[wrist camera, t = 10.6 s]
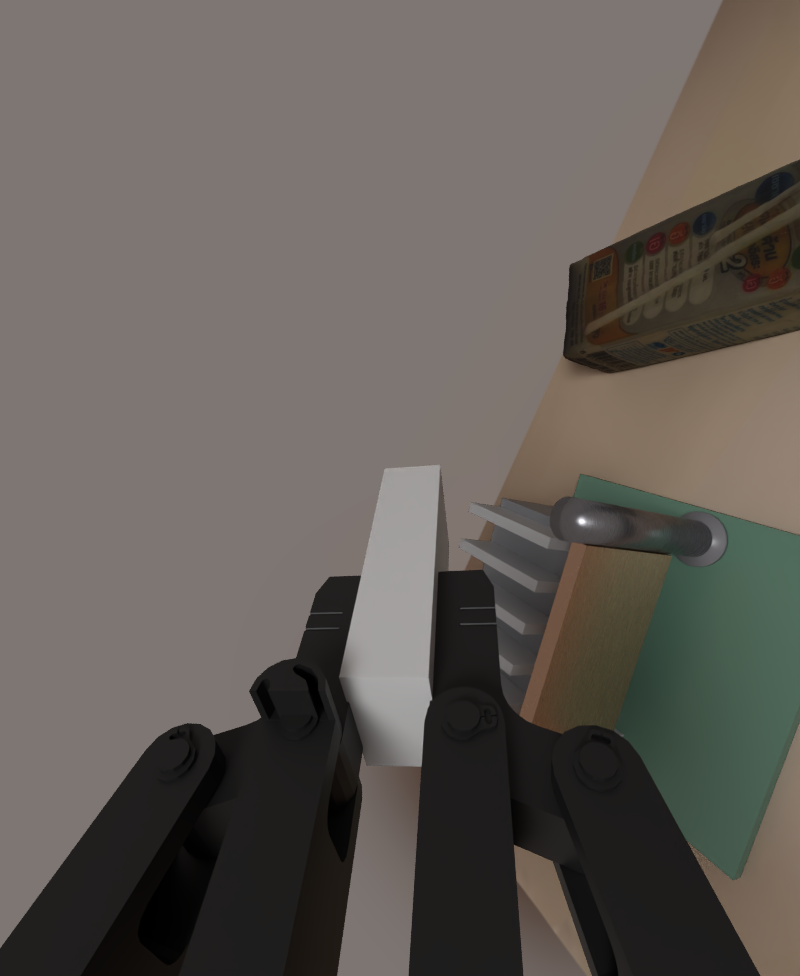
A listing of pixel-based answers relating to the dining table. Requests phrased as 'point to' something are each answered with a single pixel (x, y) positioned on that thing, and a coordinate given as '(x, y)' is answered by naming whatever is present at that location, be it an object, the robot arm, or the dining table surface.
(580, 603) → the hinge
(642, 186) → the dining table surface
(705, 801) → the heat sink
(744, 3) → the dining table surface
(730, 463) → the dining table surface
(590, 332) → the beverage carton
